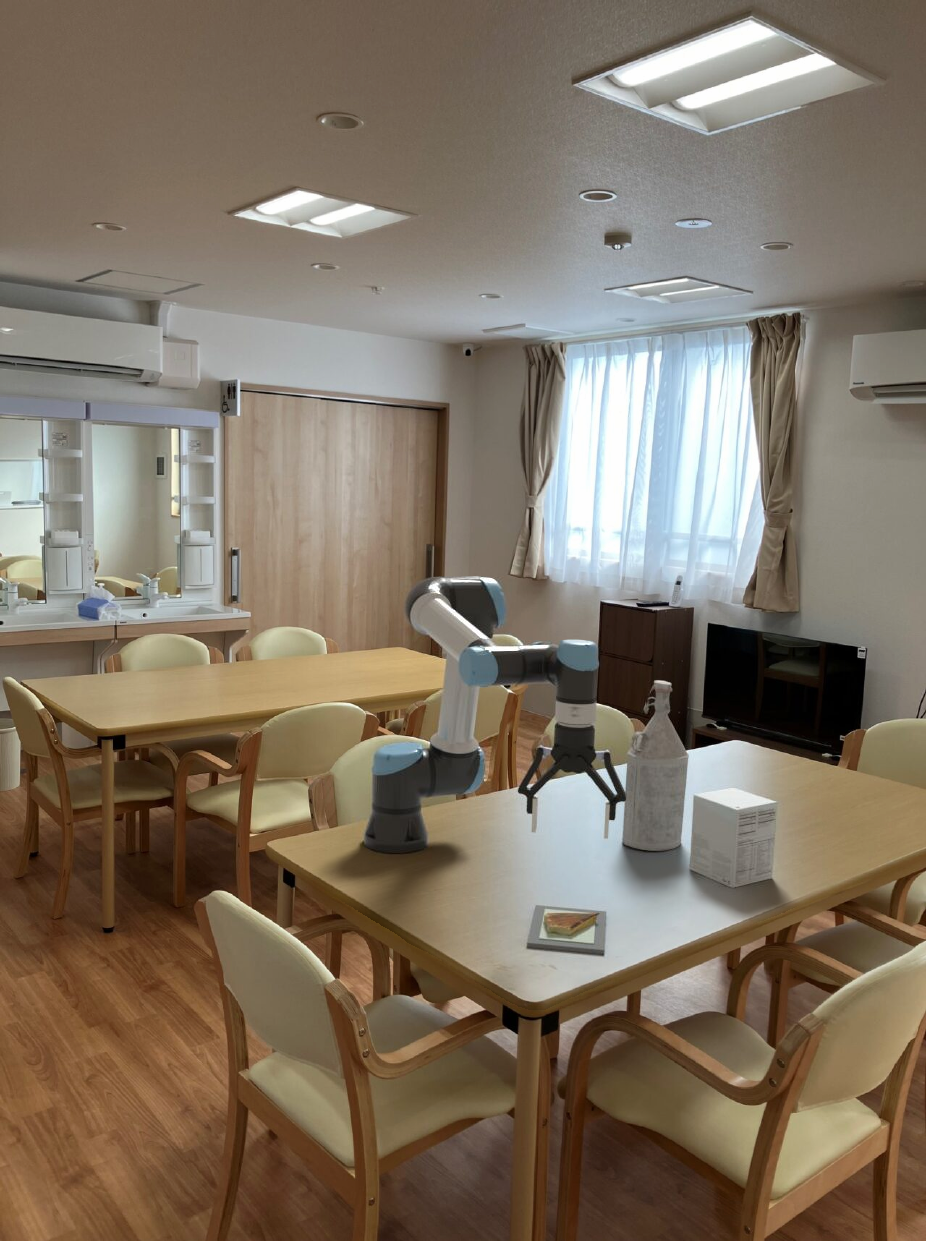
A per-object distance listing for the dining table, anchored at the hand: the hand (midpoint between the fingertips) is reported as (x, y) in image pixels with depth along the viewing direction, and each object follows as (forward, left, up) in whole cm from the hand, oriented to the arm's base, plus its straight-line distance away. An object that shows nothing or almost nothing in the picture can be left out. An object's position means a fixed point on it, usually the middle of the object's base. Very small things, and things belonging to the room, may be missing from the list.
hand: (569, 833), depth 191 cm
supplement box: (+35, +38, -19) cm, 55 cm away
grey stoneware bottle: (+18, +55, -19) cm, 61 cm away
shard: (0, 0, -18) cm, 18 cm away
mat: (+1, -1, -19) cm, 19 cm away
